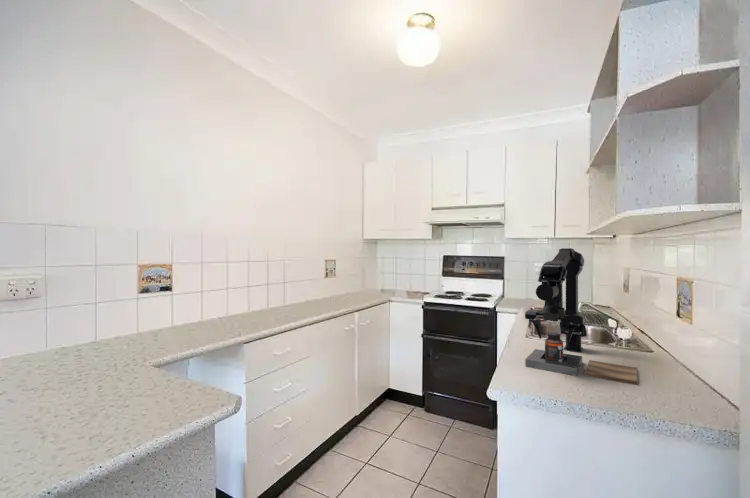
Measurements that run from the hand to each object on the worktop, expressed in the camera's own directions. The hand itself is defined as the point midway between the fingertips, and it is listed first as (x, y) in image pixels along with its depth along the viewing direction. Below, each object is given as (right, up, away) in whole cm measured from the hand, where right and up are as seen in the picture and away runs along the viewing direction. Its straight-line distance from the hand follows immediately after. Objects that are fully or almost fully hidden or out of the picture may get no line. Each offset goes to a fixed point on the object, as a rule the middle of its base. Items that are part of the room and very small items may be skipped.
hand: (554, 340), depth 124 cm
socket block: (0, -9, 0) cm, 9 cm away
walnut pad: (+15, -9, -9) cm, 19 cm away
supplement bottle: (0, -9, 0) cm, 9 cm away
